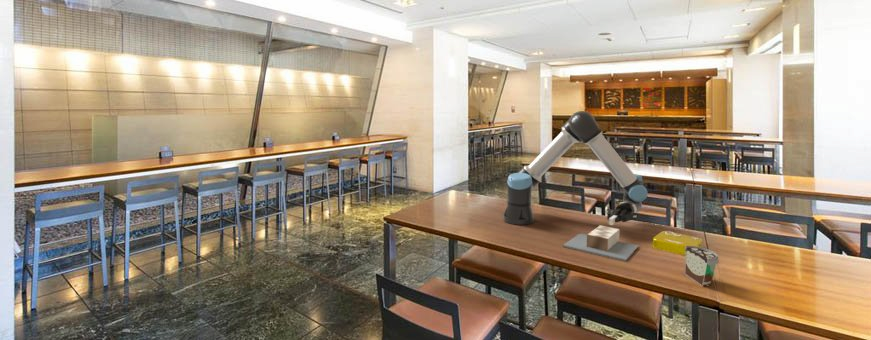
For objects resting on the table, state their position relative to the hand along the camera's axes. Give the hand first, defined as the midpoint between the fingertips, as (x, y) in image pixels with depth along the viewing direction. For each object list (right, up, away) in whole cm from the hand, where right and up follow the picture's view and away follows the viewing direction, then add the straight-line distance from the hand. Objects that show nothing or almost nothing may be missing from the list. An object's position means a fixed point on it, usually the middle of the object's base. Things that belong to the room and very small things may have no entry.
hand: (610, 221), depth 166 cm
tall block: (0, -5, +2) cm, 5 cm away
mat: (-7, -10, -6) cm, 13 cm away
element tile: (+24, -10, -7) cm, 27 cm away
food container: (+14, -15, -36) cm, 42 cm away
